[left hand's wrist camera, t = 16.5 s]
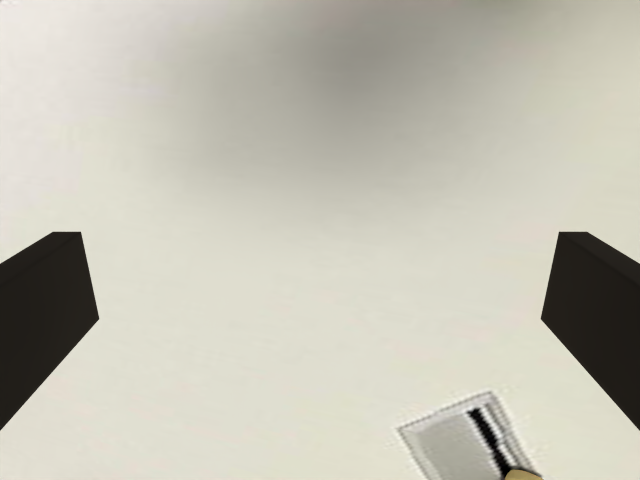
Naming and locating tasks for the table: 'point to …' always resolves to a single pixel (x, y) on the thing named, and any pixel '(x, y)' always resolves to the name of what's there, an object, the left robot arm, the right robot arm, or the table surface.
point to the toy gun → (521, 475)
